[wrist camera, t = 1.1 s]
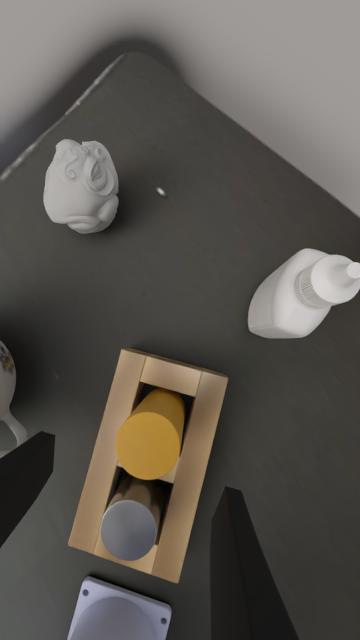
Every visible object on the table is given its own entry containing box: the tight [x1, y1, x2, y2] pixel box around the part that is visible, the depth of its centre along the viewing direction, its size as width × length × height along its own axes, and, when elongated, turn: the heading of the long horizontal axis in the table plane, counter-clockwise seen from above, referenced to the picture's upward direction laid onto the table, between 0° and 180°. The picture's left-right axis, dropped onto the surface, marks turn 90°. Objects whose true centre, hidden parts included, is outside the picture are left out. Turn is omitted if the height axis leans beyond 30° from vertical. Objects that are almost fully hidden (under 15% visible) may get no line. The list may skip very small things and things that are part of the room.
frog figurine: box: [43, 139, 119, 234], centre depth 20 cm, size 6×7×7 cm
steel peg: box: [100, 472, 166, 561], centre depth 19 cm, size 4×4×5 cm
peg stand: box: [68, 348, 228, 584], centre depth 20 cm, size 9×16×2 cm, turn 165°
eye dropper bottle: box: [248, 249, 360, 338], centre depth 16 cm, size 4×6×12 cm
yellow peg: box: [115, 387, 185, 480], centre depth 18 cm, size 4×4×8 cm
